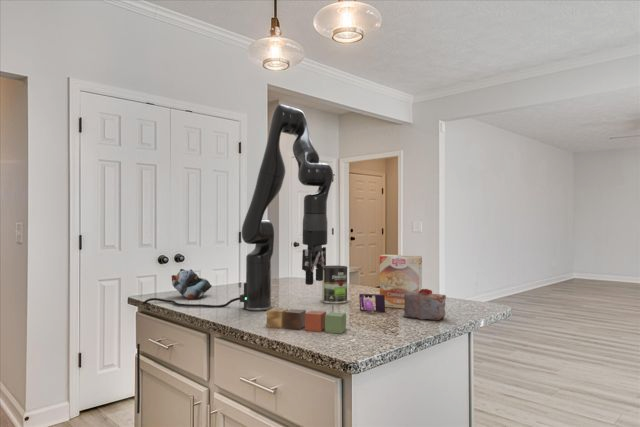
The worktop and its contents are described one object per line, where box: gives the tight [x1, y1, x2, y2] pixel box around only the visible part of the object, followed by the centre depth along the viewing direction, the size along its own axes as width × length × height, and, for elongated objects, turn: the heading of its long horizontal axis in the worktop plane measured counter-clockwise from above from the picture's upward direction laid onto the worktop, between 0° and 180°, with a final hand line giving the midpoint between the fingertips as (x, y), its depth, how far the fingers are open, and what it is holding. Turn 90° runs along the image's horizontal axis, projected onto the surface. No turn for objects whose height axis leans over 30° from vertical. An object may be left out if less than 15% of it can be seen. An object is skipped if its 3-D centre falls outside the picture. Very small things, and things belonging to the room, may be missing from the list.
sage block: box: [324, 311, 347, 334], centre depth 133 cm, size 5×5×5 cm
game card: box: [358, 293, 386, 314], centre depth 159 cm, size 7×5×9 cm
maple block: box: [266, 307, 289, 329], centre depth 139 cm, size 5×5×5 cm
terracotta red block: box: [304, 309, 327, 333], centre depth 135 cm, size 5×5×5 cm
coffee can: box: [321, 265, 348, 305], centre depth 181 cm, size 10×10×14 cm
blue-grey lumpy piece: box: [170, 268, 213, 300], centre depth 190 cm, size 15×12×14 cm
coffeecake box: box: [379, 254, 423, 310], centre depth 170 cm, size 15×7×20 cm, turn 68°
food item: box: [404, 288, 447, 321], centre depth 151 cm, size 14×8×10 cm, turn 62°
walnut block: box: [284, 308, 307, 331], centre depth 137 cm, size 5×5×5 cm
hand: (314, 282), depth 135 cm, fingers open, 8 cm apart
